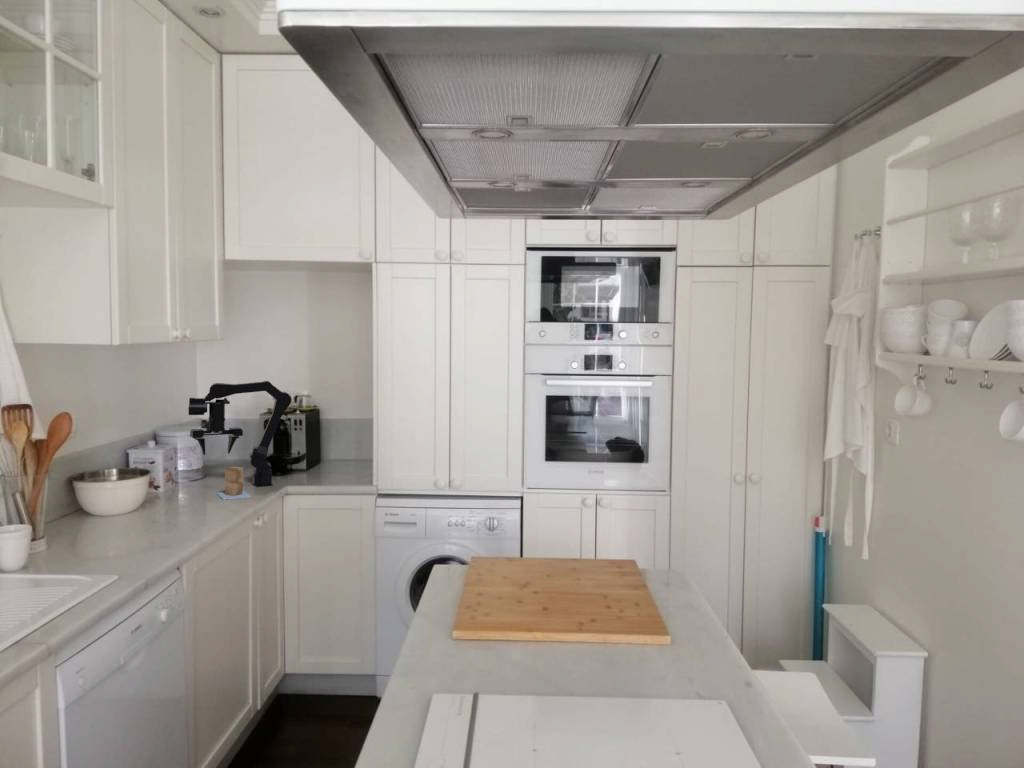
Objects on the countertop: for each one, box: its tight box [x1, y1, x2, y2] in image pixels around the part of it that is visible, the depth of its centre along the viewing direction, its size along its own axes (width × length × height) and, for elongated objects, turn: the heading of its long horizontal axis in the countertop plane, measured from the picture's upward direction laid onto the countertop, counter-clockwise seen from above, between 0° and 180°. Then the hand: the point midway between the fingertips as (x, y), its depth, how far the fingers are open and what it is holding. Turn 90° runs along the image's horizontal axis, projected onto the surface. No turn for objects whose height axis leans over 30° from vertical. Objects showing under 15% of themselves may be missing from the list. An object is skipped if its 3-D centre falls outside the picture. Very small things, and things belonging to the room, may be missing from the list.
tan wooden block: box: [224, 466, 244, 496], centre depth 269 cm, size 4×4×10 cm
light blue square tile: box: [216, 490, 252, 501], centre depth 270 cm, size 10×10×1 cm
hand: (216, 454), depth 283 cm, fingers open, 9 cm apart
